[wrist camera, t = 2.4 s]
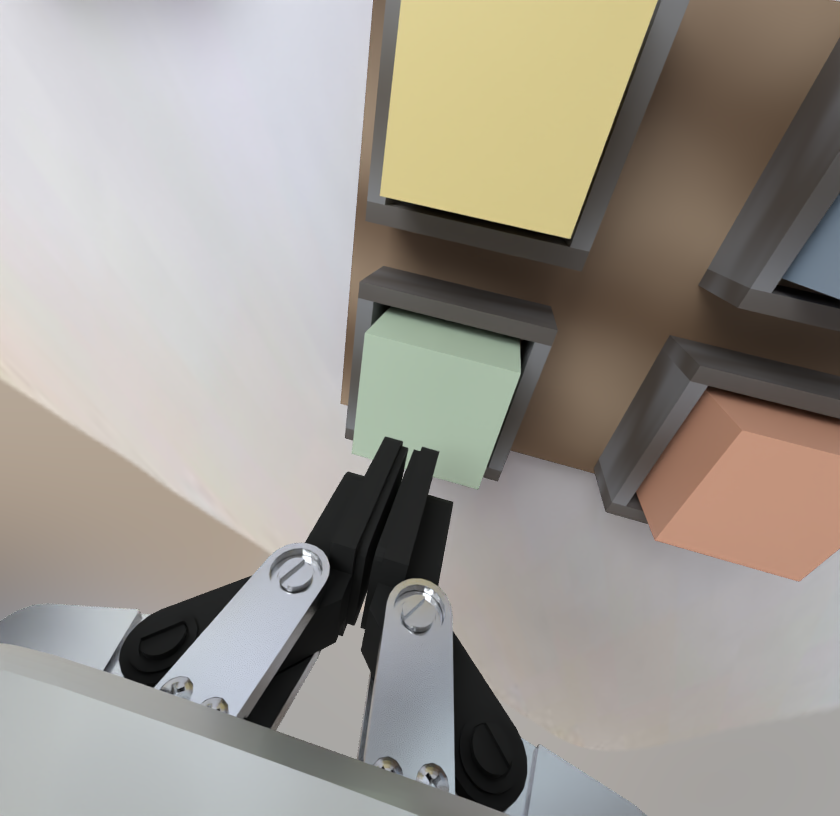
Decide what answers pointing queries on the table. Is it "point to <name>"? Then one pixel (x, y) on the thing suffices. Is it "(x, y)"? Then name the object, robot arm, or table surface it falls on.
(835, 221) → the slate button
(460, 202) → the mustard button
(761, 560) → the terracotta button
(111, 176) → the table surface
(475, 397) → the sage button
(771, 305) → the console
